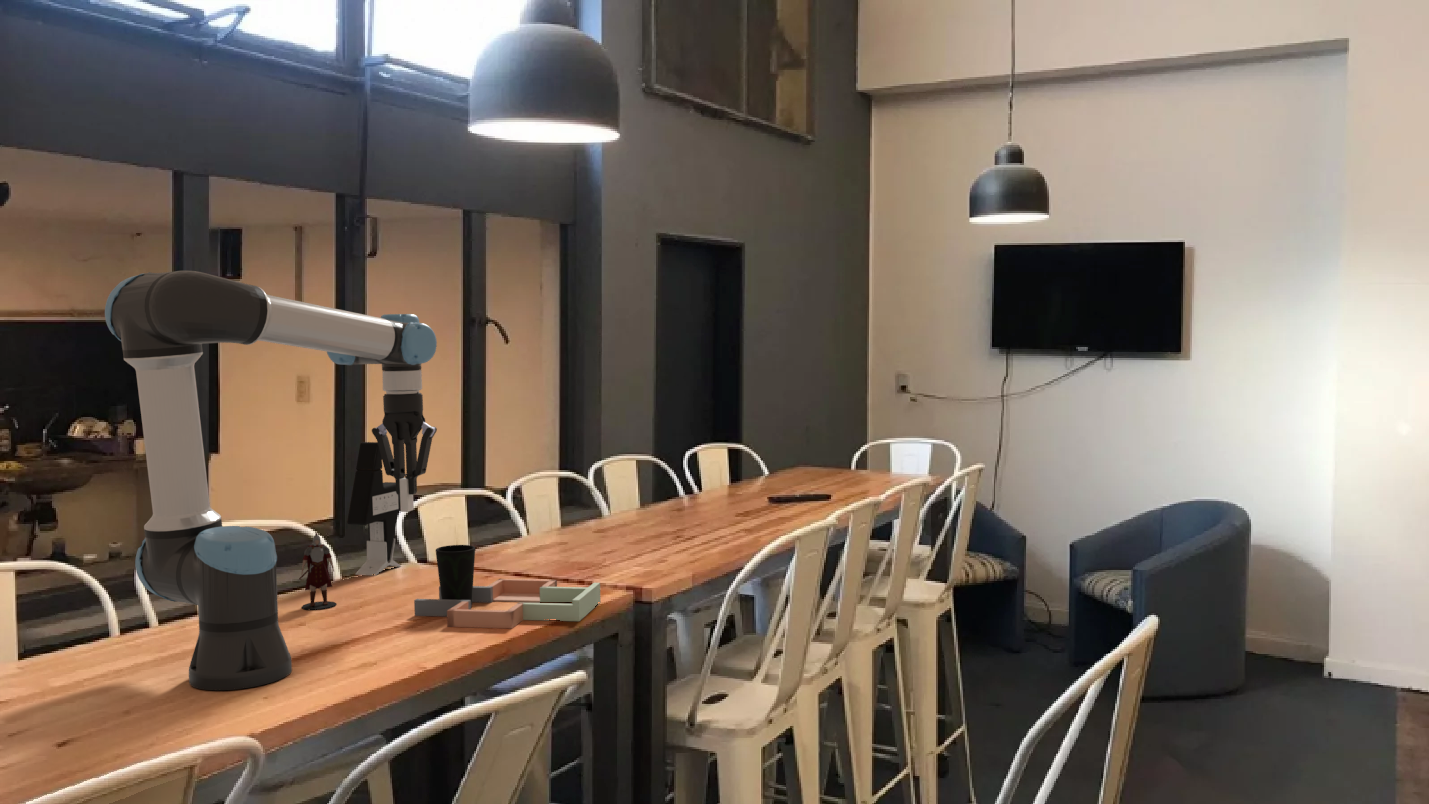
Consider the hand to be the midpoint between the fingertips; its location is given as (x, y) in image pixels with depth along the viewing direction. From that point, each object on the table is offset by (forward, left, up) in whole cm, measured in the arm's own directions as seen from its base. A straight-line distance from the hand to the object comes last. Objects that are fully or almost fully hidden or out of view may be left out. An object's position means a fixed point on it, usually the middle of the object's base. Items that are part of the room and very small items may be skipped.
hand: (407, 510), depth 224 cm
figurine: (-19, -1, -20) cm, 27 cm away
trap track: (+20, 0, -19) cm, 28 cm away
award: (-23, +33, -20) cm, 45 cm away
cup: (+10, 0, -20) cm, 22 cm away
